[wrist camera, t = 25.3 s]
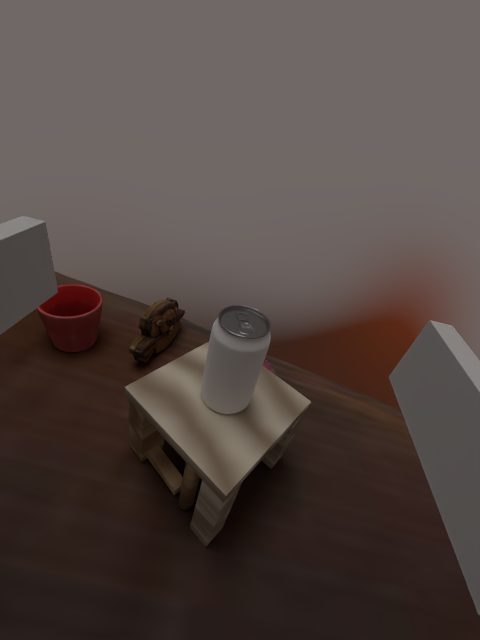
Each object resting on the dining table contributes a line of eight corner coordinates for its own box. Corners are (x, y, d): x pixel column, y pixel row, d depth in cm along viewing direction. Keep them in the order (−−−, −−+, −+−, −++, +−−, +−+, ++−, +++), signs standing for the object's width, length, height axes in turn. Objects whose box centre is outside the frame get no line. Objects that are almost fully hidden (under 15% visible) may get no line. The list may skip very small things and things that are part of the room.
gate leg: (200, 499, 40) (214, 452, 33) (179, 518, 38) (188, 471, 31) (150, 431, 46) (152, 380, 39) (129, 444, 44) (128, 392, 37)
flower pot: (115, 330, 64) (113, 291, 58) (86, 364, 55) (81, 323, 49) (67, 318, 63) (61, 278, 58) (31, 350, 55) (19, 307, 49)
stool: (205, 547, 36) (225, 496, 28) (126, 449, 43) (124, 387, 35) (281, 456, 48) (311, 401, 40) (208, 391, 55) (221, 334, 47)
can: (200, 416, 34) (216, 338, 27) (199, 374, 39) (212, 300, 33) (254, 416, 36) (281, 342, 29) (246, 376, 41) (268, 305, 34)
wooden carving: (149, 375, 56) (150, 335, 50) (127, 367, 56) (126, 326, 50) (186, 328, 69) (191, 292, 63) (168, 322, 69) (171, 285, 64)
